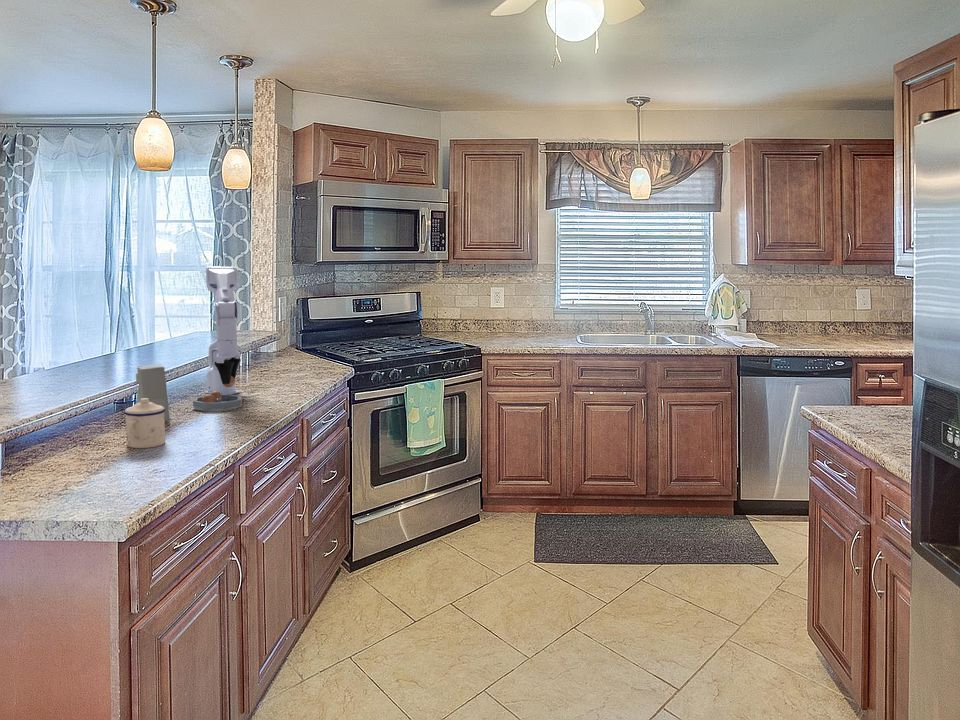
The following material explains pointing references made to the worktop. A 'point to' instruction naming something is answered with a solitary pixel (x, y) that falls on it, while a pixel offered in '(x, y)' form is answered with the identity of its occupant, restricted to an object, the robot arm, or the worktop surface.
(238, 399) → the groove tray
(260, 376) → the worktop surface
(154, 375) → the skincare box
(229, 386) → the bead
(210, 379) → the robot arm
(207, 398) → the bead seated
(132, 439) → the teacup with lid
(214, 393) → the bead
